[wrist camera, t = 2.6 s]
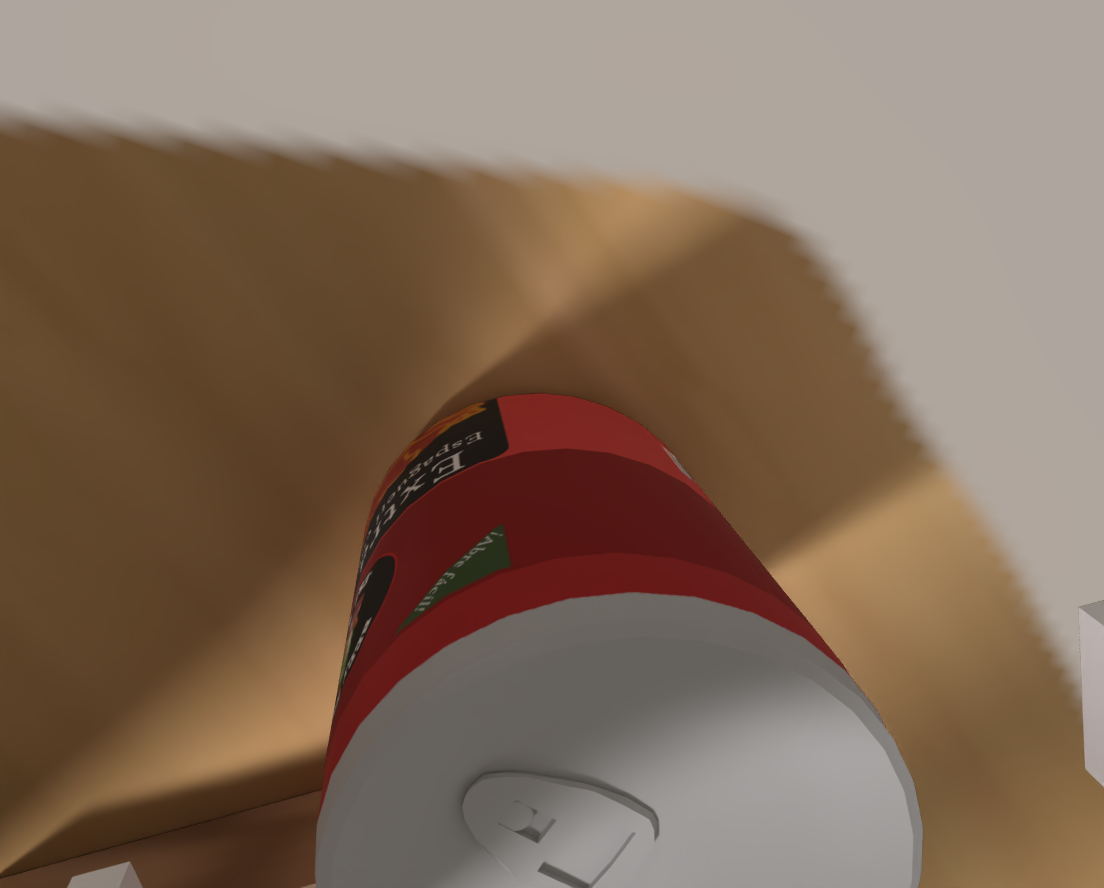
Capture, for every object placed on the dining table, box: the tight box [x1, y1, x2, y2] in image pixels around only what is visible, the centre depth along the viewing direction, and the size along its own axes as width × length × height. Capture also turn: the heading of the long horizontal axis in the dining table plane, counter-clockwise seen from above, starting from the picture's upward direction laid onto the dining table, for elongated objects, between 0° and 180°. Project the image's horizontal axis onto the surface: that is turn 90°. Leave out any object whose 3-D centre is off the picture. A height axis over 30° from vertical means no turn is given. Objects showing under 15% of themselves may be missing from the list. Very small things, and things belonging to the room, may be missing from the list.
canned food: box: [315, 393, 923, 888], centre depth 17 cm, size 8×8×11 cm
